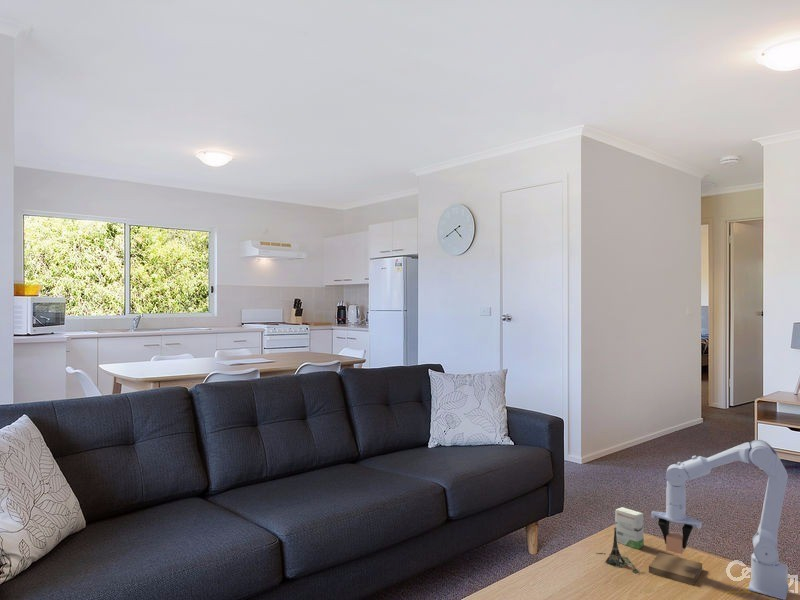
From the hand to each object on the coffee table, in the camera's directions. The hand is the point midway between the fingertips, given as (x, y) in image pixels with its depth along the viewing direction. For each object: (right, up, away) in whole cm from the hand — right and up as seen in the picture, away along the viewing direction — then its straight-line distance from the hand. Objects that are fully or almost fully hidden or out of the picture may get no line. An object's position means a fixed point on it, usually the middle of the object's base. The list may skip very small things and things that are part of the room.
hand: (675, 545), depth 185 cm
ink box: (-7, -9, +21) cm, 23 cm away
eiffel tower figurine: (-17, -9, +5) cm, 20 cm away
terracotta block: (0, -1, 0) cm, 1 cm away
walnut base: (0, -8, 0) cm, 8 cm away
